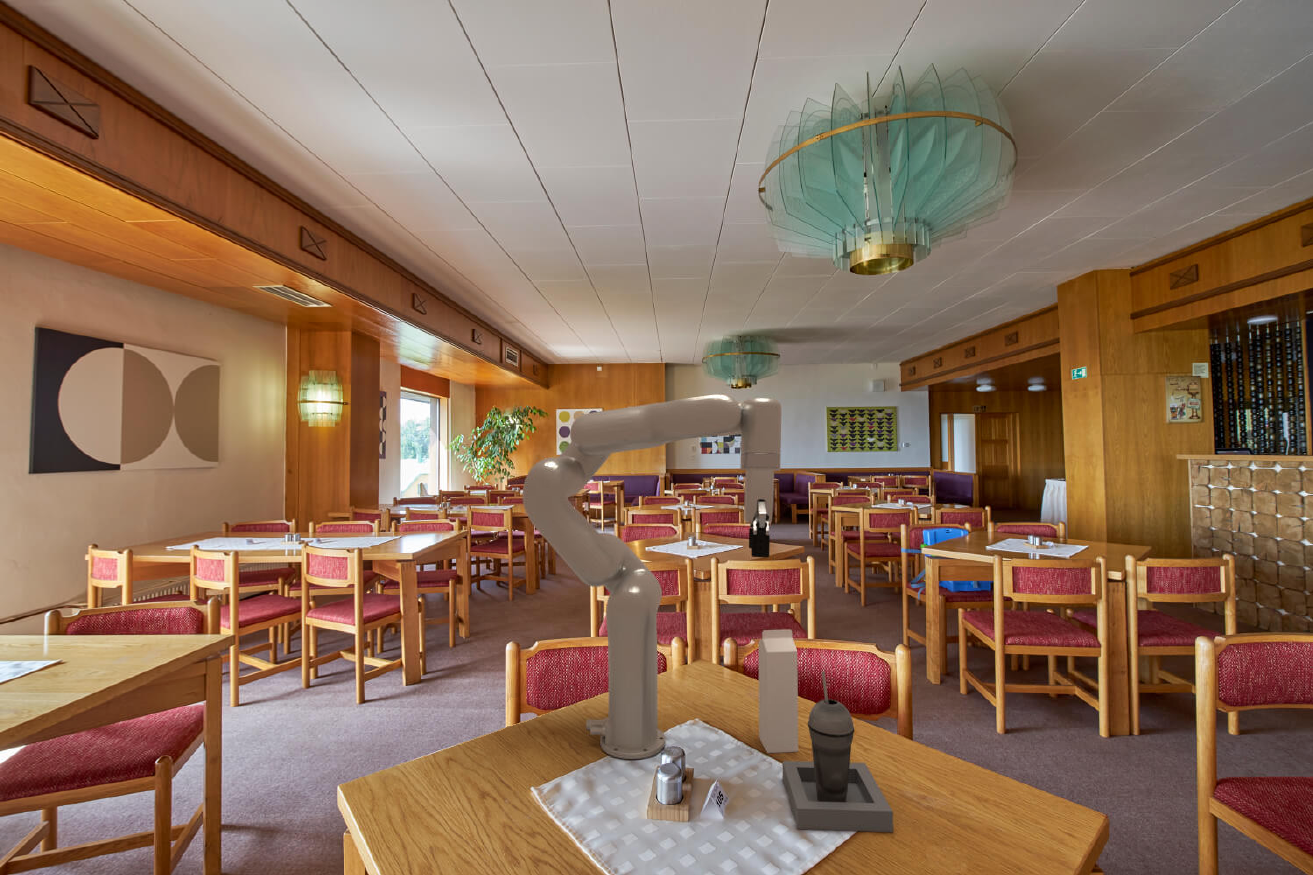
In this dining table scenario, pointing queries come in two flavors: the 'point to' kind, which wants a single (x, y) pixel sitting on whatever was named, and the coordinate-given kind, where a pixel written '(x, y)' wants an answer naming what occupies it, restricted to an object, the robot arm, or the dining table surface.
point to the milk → (778, 692)
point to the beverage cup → (831, 747)
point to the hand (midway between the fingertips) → (758, 552)
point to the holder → (856, 814)
